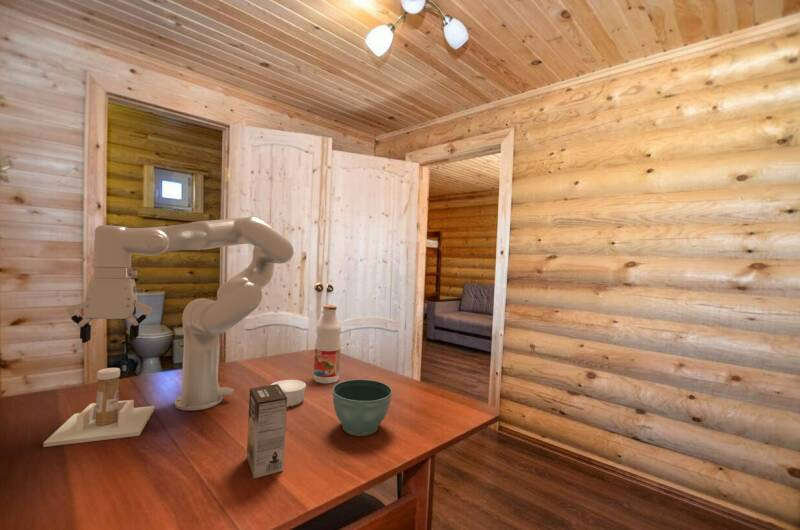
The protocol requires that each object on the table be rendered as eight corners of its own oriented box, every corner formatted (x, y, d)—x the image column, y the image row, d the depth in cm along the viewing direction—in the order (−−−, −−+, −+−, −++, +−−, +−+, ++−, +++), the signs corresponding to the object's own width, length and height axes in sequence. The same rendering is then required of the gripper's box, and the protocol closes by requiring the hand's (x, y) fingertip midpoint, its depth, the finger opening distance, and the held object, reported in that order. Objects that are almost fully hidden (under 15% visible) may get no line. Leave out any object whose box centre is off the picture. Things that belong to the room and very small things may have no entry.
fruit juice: (344, 380, 136) (347, 306, 135) (324, 386, 128) (328, 308, 128) (327, 374, 142) (331, 303, 141) (308, 379, 134) (312, 305, 134)
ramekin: (260, 404, 110) (260, 387, 110) (284, 392, 120) (285, 377, 120) (289, 412, 106) (290, 394, 106) (312, 399, 116) (312, 383, 116)
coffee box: (245, 457, 81) (248, 387, 81) (274, 450, 84) (277, 383, 84) (253, 479, 73) (257, 401, 73) (285, 471, 77) (288, 396, 76)
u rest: (154, 409, 103) (155, 393, 103) (139, 435, 88) (140, 417, 88) (74, 417, 96) (75, 400, 95) (43, 447, 81) (44, 427, 81)
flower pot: (398, 422, 103) (400, 384, 103) (376, 449, 88) (378, 405, 87) (347, 411, 108) (349, 375, 108) (318, 435, 93) (321, 393, 93)
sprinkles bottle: (116, 423, 91) (119, 371, 91) (93, 427, 89) (96, 373, 89) (118, 416, 95) (121, 366, 95) (96, 420, 92) (98, 368, 92)
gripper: (156, 274, 98) (153, 336, 98) (75, 272, 91) (73, 339, 92) (149, 275, 91) (146, 342, 92) (61, 274, 84) (59, 346, 85)
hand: (110, 340), depth 92 cm, fingers open, 9 cm apart
